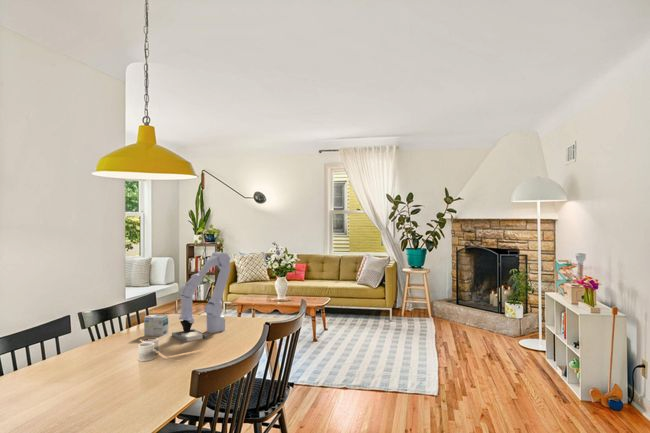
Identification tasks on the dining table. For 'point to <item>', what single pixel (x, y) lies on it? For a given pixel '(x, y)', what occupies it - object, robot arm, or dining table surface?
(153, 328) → the light bulb box
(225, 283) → the robot arm
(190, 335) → the cover plate
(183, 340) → the open box
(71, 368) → the dining table surface
